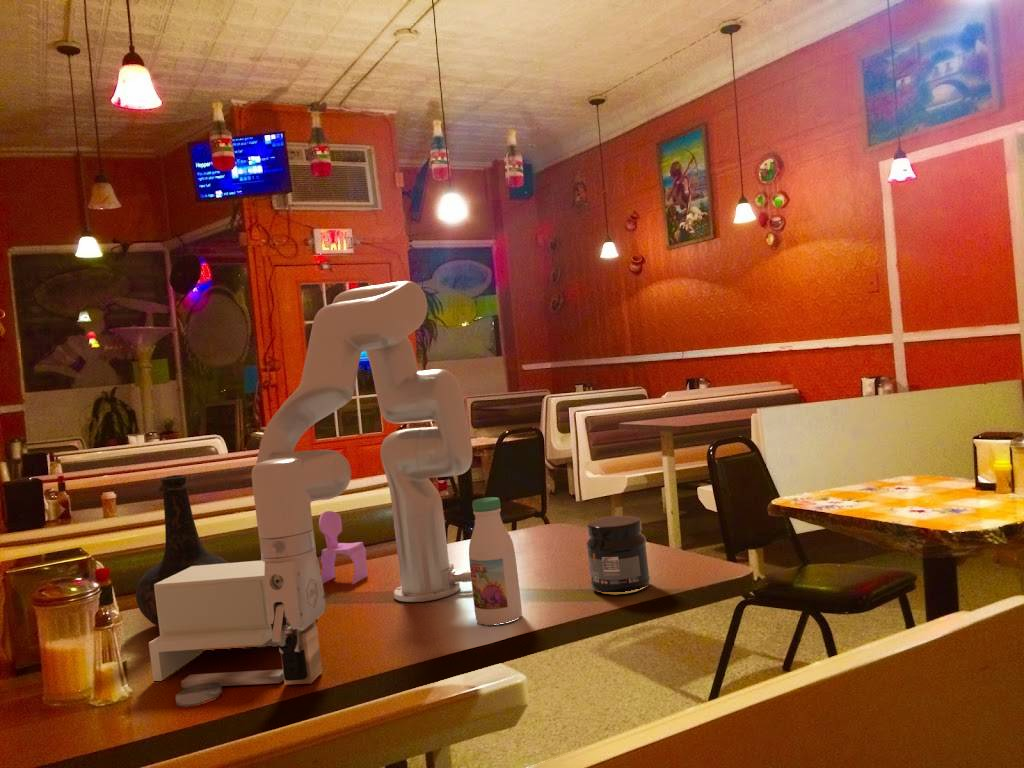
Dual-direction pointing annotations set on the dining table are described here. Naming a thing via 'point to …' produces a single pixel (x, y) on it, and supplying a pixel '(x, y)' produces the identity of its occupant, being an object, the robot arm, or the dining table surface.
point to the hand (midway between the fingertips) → (302, 671)
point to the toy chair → (339, 548)
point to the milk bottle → (493, 566)
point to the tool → (268, 676)
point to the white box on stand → (209, 613)
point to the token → (198, 694)
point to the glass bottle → (174, 545)
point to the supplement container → (617, 554)
